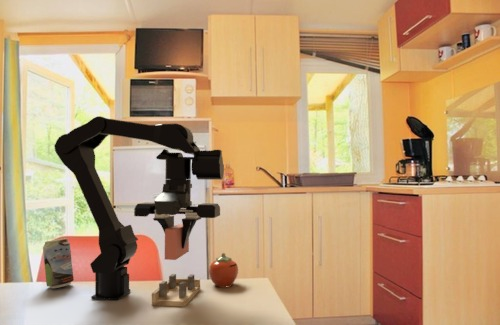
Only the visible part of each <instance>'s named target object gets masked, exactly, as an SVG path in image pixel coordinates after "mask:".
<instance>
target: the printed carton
mask: <svg viewBox="0 0 500 325" xmlns="http://www.w3.org/2000/svg"><path fill="white" fill-rule="evenodd" d="M42 253H43V263H44V264H43V265H44V270H45V271H44V272H45V281H46V287H49V288H50V289H57V288H62V287H66V286H68V285H69V286H70V285H71V284H72V283H73V282H74V271H73V270H74V269H73V261H72V251H71V244H70V241H69V240H68V239H67V237H64V238H58V239H57V238H56V239H53V240H52V239H51V240H47V241H45V242H44V245H43V246H42Z"/></svg>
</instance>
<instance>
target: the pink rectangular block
mask: <svg viewBox="0 0 500 325" xmlns="http://www.w3.org/2000/svg"><path fill="white" fill-rule="evenodd" d="M182 231H183V223H177V224H174V226H172V227H170V228H167V229H165V233H164V260H169V261H170V260H171V261H177V260H178V259H180V258H181V257H183V256H184V255H186V254H188V253H189V251H190V250H189V247H190V244H189V243H190V239H189V238H190V237H189V238H188V241H187V244H186V246H185V248H184V249H182Z"/></svg>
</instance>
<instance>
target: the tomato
mask: <svg viewBox="0 0 500 325" xmlns="http://www.w3.org/2000/svg"><path fill="white" fill-rule="evenodd" d="M208 274H209V277H210V280H211V281H212V283H213V284H214V286H216V287H218V286H219V288H227V287H226V286H229V287H231V286H232V285H233V284H234V283H235V281H236V279H237V277H238V274H239V266H238V264H237V263H236V261H234V260H233V259H232V258H231V257H229V256H226V253H224V252H222V253H221V256H219V257H216V258H215V260H213V261H212V262H211V263H210V265H209V267H208ZM230 285H231V286H230Z"/></svg>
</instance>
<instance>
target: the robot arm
mask: <svg viewBox="0 0 500 325" xmlns="http://www.w3.org/2000/svg"><path fill="white" fill-rule="evenodd" d="M109 136H116V137H121V138H127V139H135V140H141V141H147V142H152V143H155V144H157V145H160V146H163V147H165V149H162V151H161V152H160V153H159V154H158V155H157V156H155V158H156V160H161V161H163V160H164V161H165V176H164V177H165V180H164V181H165V182H164V183H162V184H163V186H162V192H160V193H159V194H158V195H157V196H156V197H155V198H154V200H153V202H148V201H147V202H139V203H137V204H136V205H135V206H134V209H133V210H134V212H133V213H134V215H133V216H134V217H144V218H145V217H148V216H149V215H154V217H153V218H152V219H153V221H156V222H157V223H159V225H160V227H161V228H162V230H163V233H164V234H165V229H167V228H170V227H172V226H175V215H185V217H184V218H182V219H181V224H183V231H182V249H184V248H185V246H186V244H187V241H188V238H190V235H191V233H192V231H193V229H194V227H195V226H196V222H197V221H200V220H201V219H215V218H217V217H220V216H221V207H220V206H221V205H219V204H218V203H209V202H208V203H204V202H202V203H201V204H197V206H193V205H192V204H193V201H192V199H191V189H192V188H193V183H192V181H191V179H192V178H191V177H192V175H193V176H195V177H196V179H197V180H205V181H206V180H211V181H212V180H215V181H217V180H219V181H220V180H223V178H224V173H225V171H224V170H225V164H224V159H223V153H222V152H223V151H222V150H221V149H213V150H200V148H199V147H198V145H197V144H196V143H195V142H194V135H193V132H191V129H189V128H188V127H186V126H184V125H182V124H179V123H160V124H146V123H139V122H133V121H127V120H119V119H113V118H107V117H104V116H101V115H100V116H95V117H93V118H92V119H90V120H89V121H88V122H86V123H84V124H81V125H80V126H78V127H75V128H74V129H72V130H71V131H69V132H68V133H65V134H62V135H60V136H59V137H58V138H57V139H56V140H55V144H54V151H55V154H56V155H57V156H58V158H59V160H60V161H61V163H62V164H63V165H64V166H65V167H66V168H67V169H68V170H70V172H72V173H73V175H74V177H75V179H76V181H77V184H78V186H79V189H80V190H81V193H82V195H83V197H84V199H85V201H86V203H87V204H86V205H87V206H88V209H89V210H90V211H89V212H90V213H91V215H92V217H93V219H94V222H95V224H96V226H97V228H98V248H99V250H100V253H99V254H98V256H96V257H95V258H94V260H92V262H90V268H91V271H92V273H93V274H94V275H95V280H94V281H95V286H94V288H95V293H94V294H93V295H92V296H90V297H91V298H90V299H92V300H111V301H115V300H116V301H117V300H120V299H122V298H123V297H124V296H126V295H127V294H129V293H130V292H131V289H130V274H129V273H128V267H127V265H129V263H130V261H131V258H132V257H134V256H135V254H136V253H137V250H138V244H137V243H138V242H137V241H138V240H139V239H138V237H137V236H136V235H135V232H134V229H133V227H132V225H131V224H128V225H124V224H123V223H121V221H120V220H119V218H118V215H117V214H116V212H115V209H114V207H113V205H112V203H111V201H110V198H109V196H108V194H107V192H106V189H105V187H104V185H103V182H102V179H101V178H100V176H99V174H98V172H97V169H96V154H95V150H96V148H98V147H99V146H100V145H101V144H102V143H103V141H105V139H106V138H107V137H109ZM166 148H169V149H171V150H177V151H181V152H170V151H169V150H168V149H166ZM182 152H183V153H182ZM183 154H188V155H192V156H184V155H183Z"/></svg>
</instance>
